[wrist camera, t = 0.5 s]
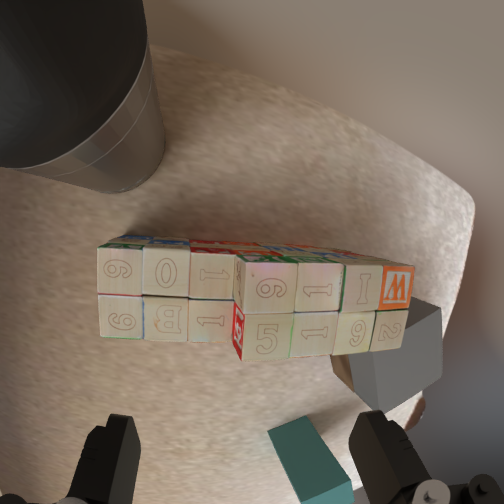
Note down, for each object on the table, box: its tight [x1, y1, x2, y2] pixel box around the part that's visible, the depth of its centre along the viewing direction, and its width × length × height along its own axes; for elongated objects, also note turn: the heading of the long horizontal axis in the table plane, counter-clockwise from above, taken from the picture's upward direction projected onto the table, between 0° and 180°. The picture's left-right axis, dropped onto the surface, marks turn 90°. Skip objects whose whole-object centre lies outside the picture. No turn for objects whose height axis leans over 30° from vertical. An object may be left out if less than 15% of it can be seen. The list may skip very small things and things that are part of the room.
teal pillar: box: [268, 416, 355, 504], centre depth 28 cm, size 5×5×12 cm
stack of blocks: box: [97, 235, 415, 361], centre depth 24 cm, size 21×6×12 cm, turn 85°
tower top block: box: [348, 297, 442, 414], centre depth 26 cm, size 8×8×5 cm
